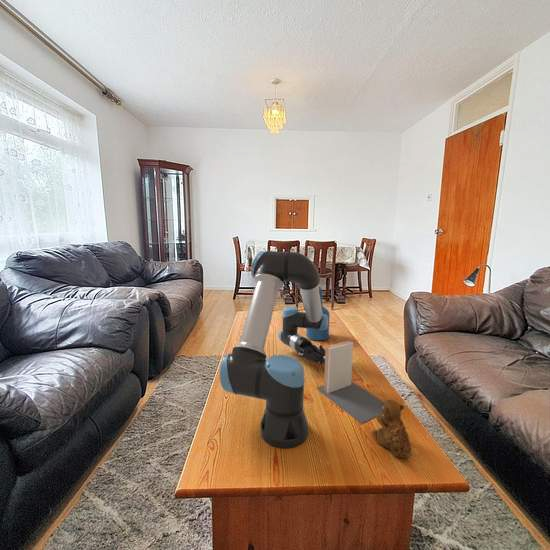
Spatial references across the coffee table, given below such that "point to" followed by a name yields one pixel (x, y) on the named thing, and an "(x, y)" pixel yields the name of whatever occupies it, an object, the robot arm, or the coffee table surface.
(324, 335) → the wine bottle
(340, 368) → the tile
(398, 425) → the stuffed squirrel
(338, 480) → the coffee table surface
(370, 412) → the mat
